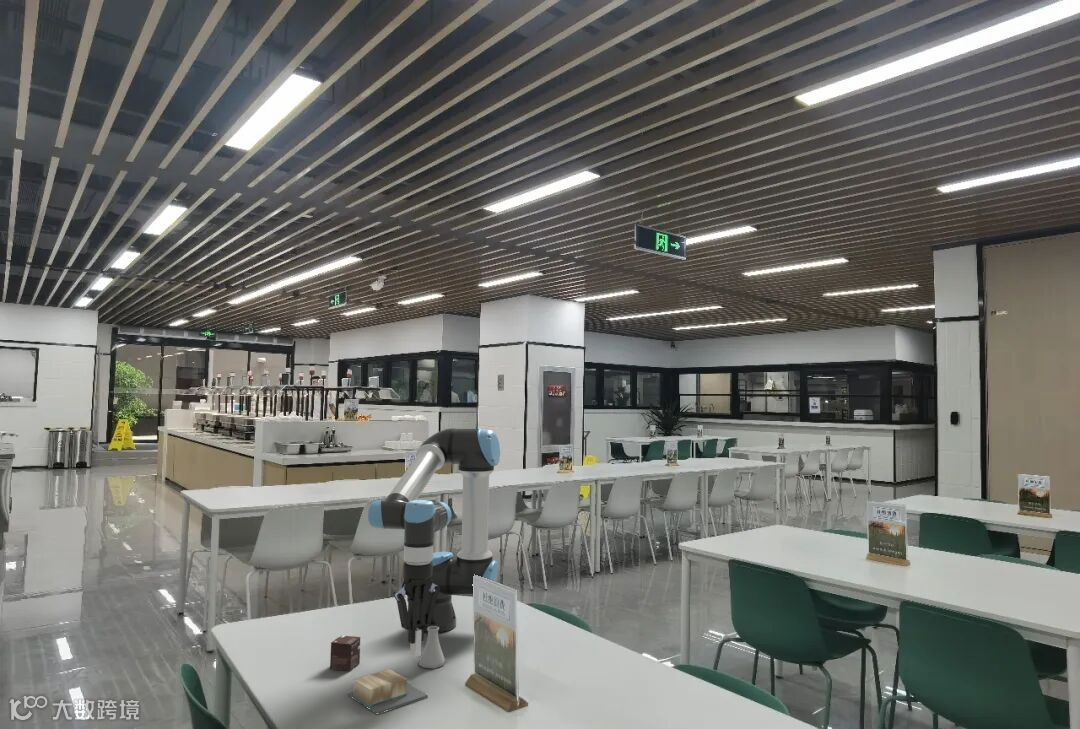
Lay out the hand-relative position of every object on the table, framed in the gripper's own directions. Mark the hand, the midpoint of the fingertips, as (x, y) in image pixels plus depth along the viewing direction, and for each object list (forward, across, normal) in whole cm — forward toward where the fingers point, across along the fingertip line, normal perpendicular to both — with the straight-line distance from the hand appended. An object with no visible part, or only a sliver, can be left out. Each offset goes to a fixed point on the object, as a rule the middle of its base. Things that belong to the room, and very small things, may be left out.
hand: (415, 654), depth 169 cm
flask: (+8, -12, -10) cm, 18 cm away
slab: (+5, +5, 0) cm, 7 cm away
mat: (+8, +8, 0) cm, 11 cm away
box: (+8, +7, -24) cm, 26 cm away
